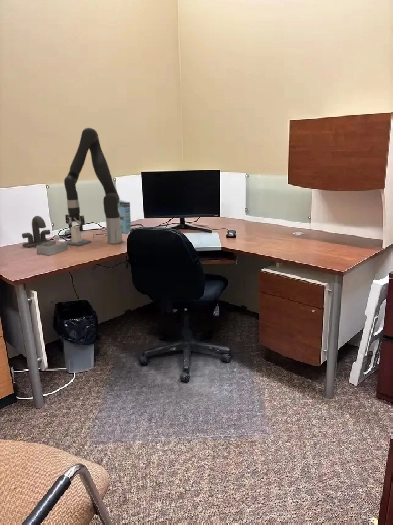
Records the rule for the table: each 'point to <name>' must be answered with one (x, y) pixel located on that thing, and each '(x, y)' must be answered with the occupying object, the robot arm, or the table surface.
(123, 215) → the gum box
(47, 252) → the grey box
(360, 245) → the table surface
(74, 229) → the block
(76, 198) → the robot arm
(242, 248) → the table surface
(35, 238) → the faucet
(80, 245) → the mat
